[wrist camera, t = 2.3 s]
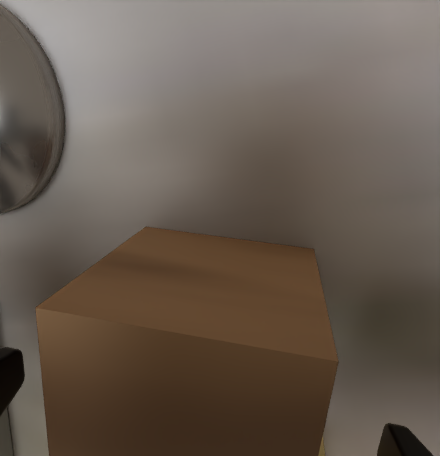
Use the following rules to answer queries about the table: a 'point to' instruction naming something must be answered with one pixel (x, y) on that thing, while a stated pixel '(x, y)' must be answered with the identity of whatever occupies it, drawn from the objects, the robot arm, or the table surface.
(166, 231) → the walnut cube
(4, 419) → the grey metal square plate
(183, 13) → the table surface
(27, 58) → the jar lid
